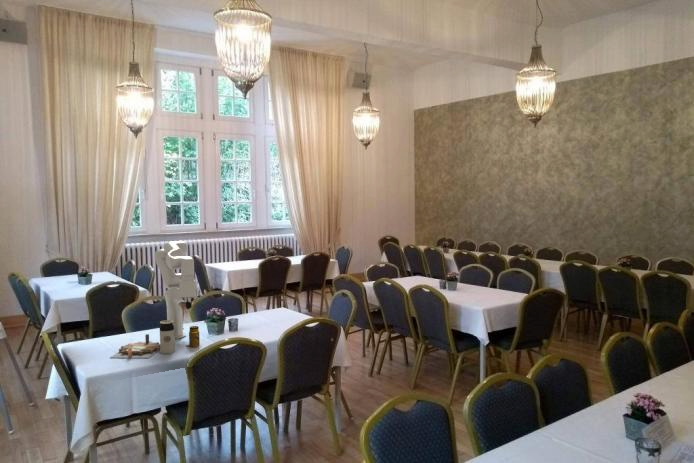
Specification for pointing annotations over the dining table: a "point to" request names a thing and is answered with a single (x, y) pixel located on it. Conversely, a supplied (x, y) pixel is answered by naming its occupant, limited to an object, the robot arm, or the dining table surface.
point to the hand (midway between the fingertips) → (188, 308)
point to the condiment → (193, 337)
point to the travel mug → (167, 337)
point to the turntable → (141, 347)
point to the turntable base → (130, 355)
